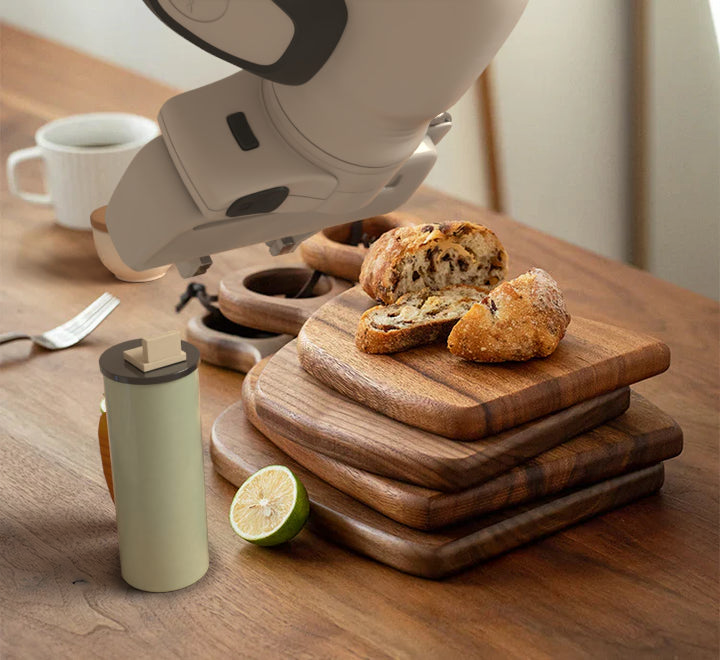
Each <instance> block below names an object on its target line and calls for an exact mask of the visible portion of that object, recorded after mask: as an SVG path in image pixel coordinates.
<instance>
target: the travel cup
mask: <svg viewBox="0 0 720 660" xmlns="http://www.w3.org/2000/svg"><path fill="white" fill-rule="evenodd" d="M142 338H143V337H140V338H134V339H130V340H126V341H123V342H119V343H117V344H115V345H112V346H110V347H109V348H107V349H105V350H104V351H103V352H102V353H101V354H100V356H99V358H98V369H99V372H100V373H101V375H102V382H103V394H104V395H105V396H104V395H103V396H104V404H105V412H106V416H107V426H108V437H109V448H110V458H111V469H112V480H113V490H114V501H115V505H114V511H115V520H116V521H115V522H116V532H117V542H118V551H119V552H118V553H119V563H120V573H121V576H122V578H123V580H124V581H125V582H126V583H127V584H128V585H130V586H131V587H133V588H135V589H138V590H141V591H144V592H151V593H167V592H174V591H179V590H181V589H184V588H187V587H190V586H191V585H193V584H195V583H197V582H198V581H200V579H202V578H203V577H204V576H205V574H206V573H207V572H208V569H209V567H210V549H209V548H210V547H209V532H208V531H209V529H208V514H207V495H206V493H207V492H206V481H205V480H206V477H205V463H204V462H205V459H204V441H203V424H202V423H203V422H202V405H201V387H200V386H201V385H200V372H199V371H200V369H199V367H200V365H201V361H202V359H201V358H202V357H201V356H202V355H201V352H200V350H199V348H198V347H197V346H196V345H195V344H194V343H191V342H189V341H187V340H183V339H180V340H181V350H182V351H183V352H185V353H186V360H184V361H181V362H177V363H174V364H170V365H167V366H163V367H160V368H157V369H153V370H150V371H146V372H143V371H142V370H140V369H139V368H137V367H136V366H134V365H133V364H131V363H130V362H128V361H127V360H126V359H124V355H123V352H124V351H127V350H131V349H134V348H138V347H141V346H142Z"/></svg>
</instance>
